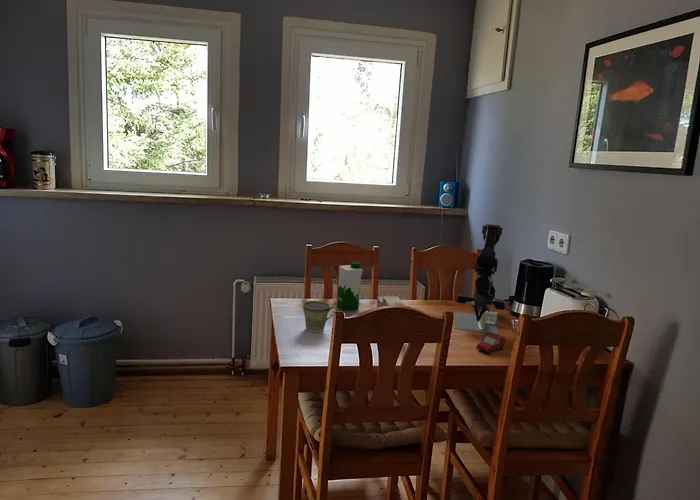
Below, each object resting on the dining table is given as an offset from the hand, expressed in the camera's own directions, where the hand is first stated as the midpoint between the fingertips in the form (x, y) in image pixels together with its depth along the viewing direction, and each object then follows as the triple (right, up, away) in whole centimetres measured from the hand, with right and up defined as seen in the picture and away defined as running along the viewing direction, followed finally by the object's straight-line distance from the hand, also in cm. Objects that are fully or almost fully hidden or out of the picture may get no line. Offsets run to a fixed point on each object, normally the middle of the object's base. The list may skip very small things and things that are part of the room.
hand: (477, 321), depth 215 cm
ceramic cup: (-64, -1, -16) cm, 66 cm away
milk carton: (-53, +4, +13) cm, 55 cm away
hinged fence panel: (+2, -2, +2) cm, 4 cm away
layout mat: (0, -2, +6) cm, 7 cm away
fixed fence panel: (+6, -2, +7) cm, 9 cm away
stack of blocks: (-37, -2, -7) cm, 38 cm away
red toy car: (-1, -8, -22) cm, 23 cm away
